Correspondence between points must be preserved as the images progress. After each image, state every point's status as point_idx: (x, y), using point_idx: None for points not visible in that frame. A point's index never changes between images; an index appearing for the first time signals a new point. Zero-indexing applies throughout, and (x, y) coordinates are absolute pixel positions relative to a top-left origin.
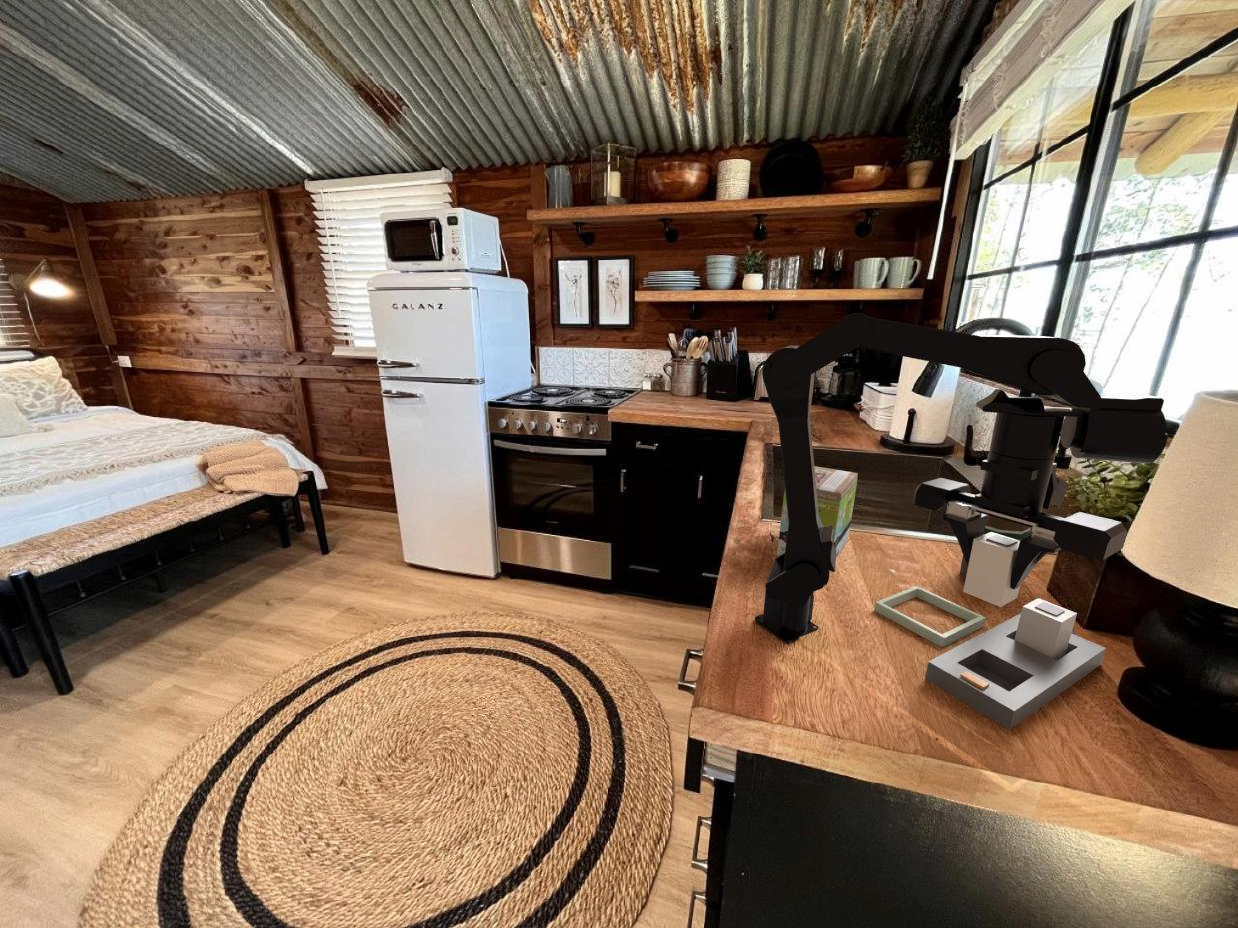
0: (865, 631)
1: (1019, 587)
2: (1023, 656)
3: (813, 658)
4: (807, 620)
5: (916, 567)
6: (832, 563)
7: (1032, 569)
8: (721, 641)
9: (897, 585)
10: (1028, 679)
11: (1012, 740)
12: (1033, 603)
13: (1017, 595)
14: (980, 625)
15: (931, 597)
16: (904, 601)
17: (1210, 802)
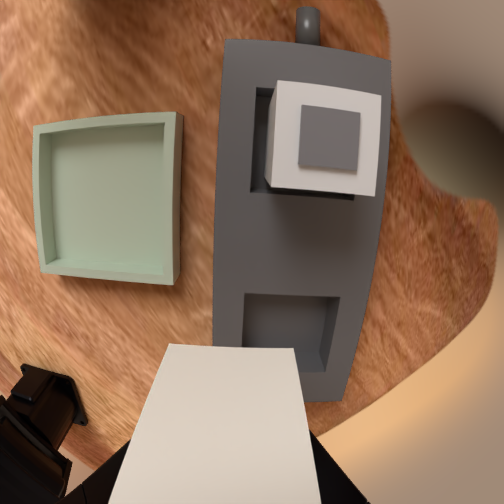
0: (88, 325)
1: (298, 374)
2: (307, 245)
3: (119, 424)
4: (63, 402)
5: (15, 25)
6: (47, 501)
7: (352, 483)
8: (71, 450)
9: (17, 119)
10: (337, 316)
11: None
12: (283, 135)
13: (293, 353)
14: (178, 130)
15: (69, 130)
16: (50, 177)
17: (484, 290)
